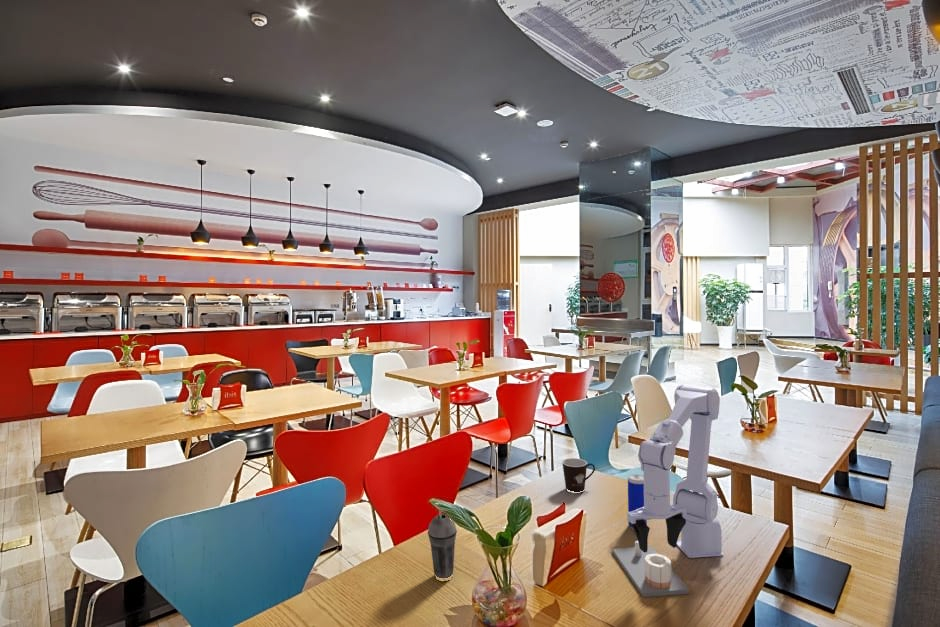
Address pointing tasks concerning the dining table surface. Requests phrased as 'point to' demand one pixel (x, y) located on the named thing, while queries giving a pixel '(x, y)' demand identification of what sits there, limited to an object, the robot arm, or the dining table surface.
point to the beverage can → (635, 493)
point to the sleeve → (658, 570)
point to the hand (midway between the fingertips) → (657, 547)
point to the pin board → (635, 569)
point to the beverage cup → (442, 545)
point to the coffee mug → (575, 473)
